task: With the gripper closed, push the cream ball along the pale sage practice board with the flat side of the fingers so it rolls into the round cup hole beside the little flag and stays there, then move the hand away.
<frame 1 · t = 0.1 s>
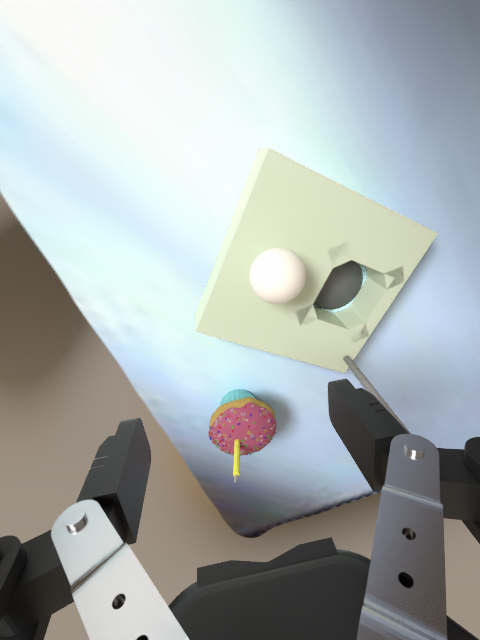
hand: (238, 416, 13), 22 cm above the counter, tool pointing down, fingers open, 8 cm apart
cupcake: (238, 400, 43), on the counter
practice board: (301, 270, 35), on the counter
ball: (277, 276, 27), point 6 cm above the counter, touching practice board
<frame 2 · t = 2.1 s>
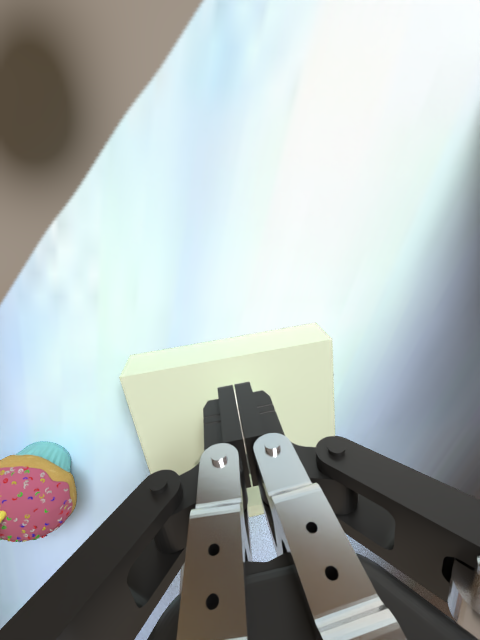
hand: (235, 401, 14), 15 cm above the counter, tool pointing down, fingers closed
cupcake: (49, 457, 32), on the counter
practice board: (238, 418, 33), on the counter
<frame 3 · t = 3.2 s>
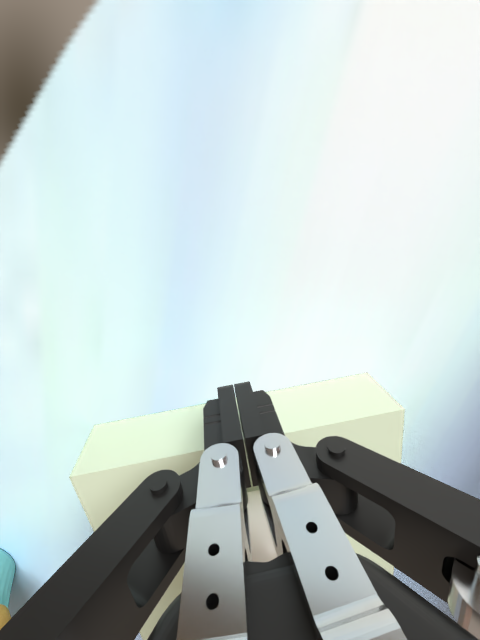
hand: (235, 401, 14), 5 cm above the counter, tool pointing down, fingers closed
practice board: (252, 501, 23), on the counter
ball: (261, 546, 15), point 6 cm above the counter, touching practice board
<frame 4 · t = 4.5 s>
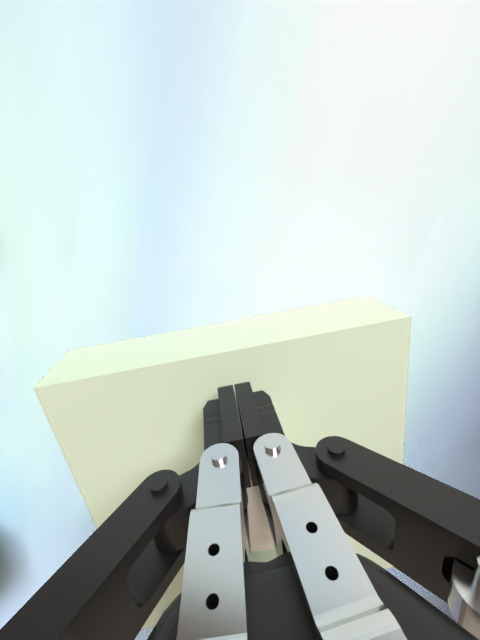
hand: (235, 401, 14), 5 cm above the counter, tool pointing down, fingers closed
practice board: (245, 447, 21), on the counter
ball: (255, 482, 14), point 6 cm above the counter, tilted 19°, touching gripper, practice board
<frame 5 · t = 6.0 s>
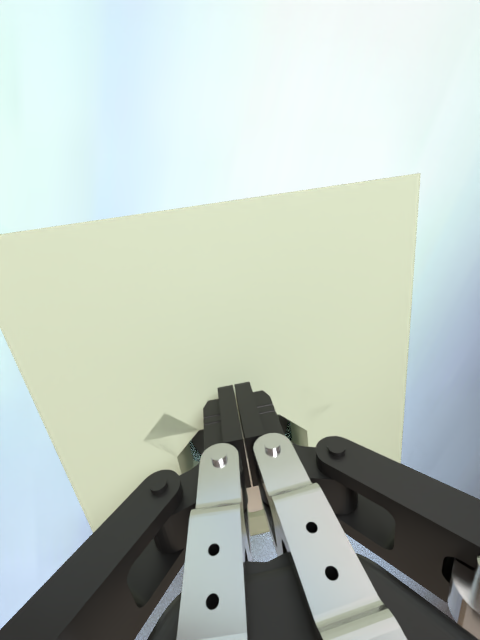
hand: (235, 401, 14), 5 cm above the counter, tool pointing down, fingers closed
practice board: (229, 367, 19), on the counter
ball: (246, 463, 18), point 3 cm above the counter, tilted 142°, touching practice board
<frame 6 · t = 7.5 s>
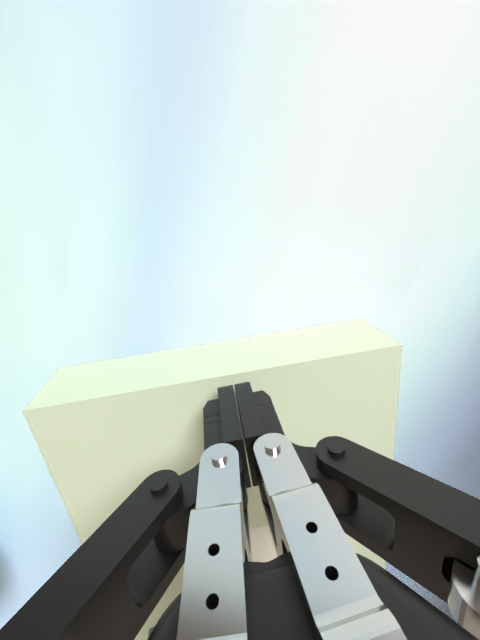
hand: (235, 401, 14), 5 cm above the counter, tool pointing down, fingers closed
practice board: (236, 464, 21), on the counter
ball: (248, 536, 20), point 3 cm above the counter, tilted 179°, touching practice board
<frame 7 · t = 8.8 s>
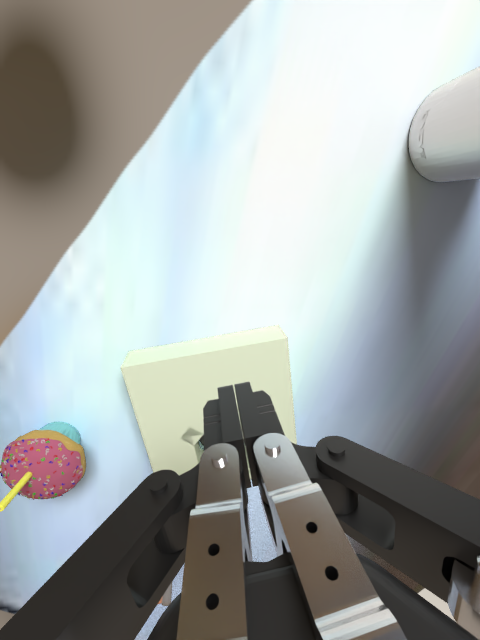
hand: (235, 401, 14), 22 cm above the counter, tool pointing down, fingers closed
cupcake: (62, 435, 39), on the counter
practice board: (217, 403, 40), on the counter
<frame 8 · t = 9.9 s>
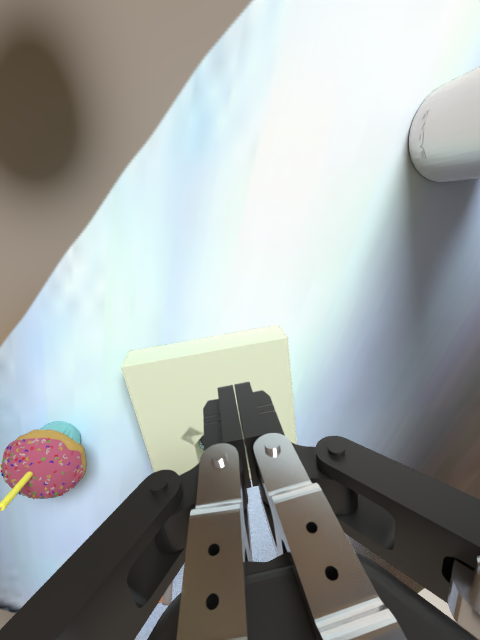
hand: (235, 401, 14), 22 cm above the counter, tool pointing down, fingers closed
cupcake: (62, 435, 39), on the counter
practice board: (218, 403, 40), on the counter
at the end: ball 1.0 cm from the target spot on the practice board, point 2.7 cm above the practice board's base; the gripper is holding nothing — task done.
